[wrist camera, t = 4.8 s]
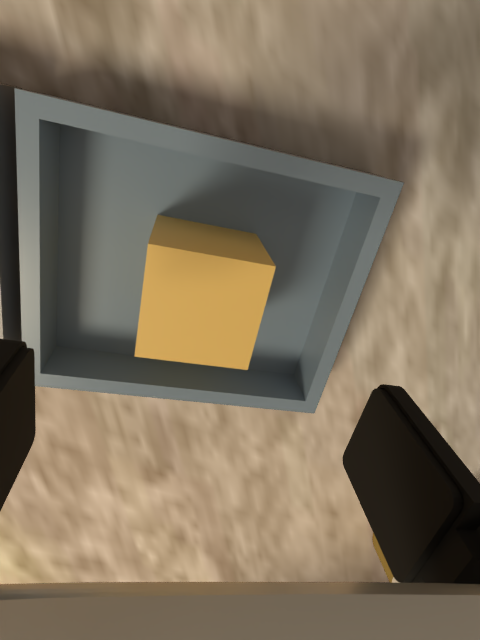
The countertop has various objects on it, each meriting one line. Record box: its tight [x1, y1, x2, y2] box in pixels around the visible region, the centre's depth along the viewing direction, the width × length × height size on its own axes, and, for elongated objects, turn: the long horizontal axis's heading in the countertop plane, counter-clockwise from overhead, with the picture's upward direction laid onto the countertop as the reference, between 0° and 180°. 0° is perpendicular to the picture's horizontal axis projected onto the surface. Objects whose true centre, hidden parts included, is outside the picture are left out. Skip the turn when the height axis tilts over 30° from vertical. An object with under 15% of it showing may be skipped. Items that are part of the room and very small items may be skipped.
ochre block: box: [134, 215, 276, 370], centre depth 18 cm, size 5×5×5 cm
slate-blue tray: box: [15, 88, 404, 413], centre depth 19 cm, size 13×16×3 cm
